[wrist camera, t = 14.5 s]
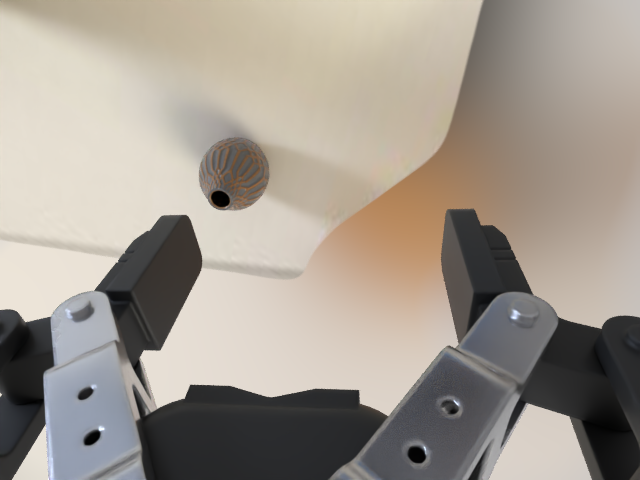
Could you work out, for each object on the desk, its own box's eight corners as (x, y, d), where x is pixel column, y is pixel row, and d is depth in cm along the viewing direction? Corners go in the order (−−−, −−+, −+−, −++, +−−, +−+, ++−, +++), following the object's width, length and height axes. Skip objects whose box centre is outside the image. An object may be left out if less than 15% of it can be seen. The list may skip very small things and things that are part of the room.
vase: (239, 115, 42) (213, 150, 35) (287, 162, 44) (272, 203, 37) (200, 156, 45) (168, 196, 38) (247, 197, 48) (226, 242, 41)
